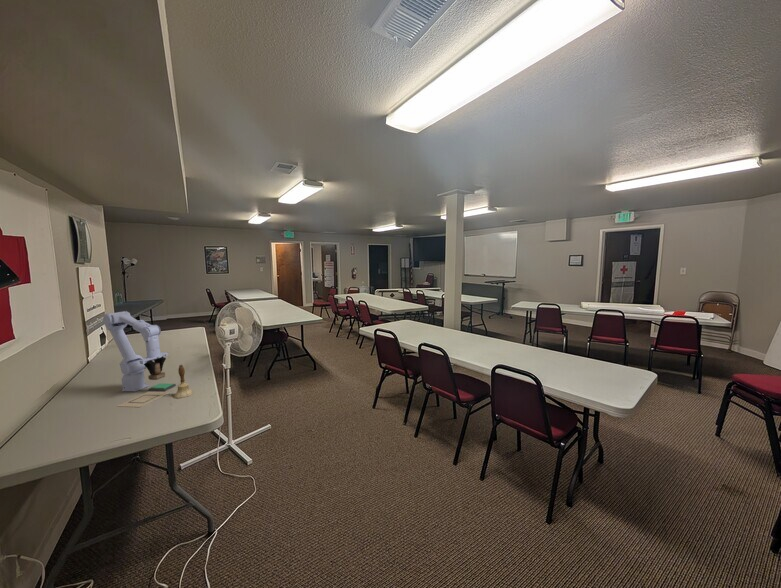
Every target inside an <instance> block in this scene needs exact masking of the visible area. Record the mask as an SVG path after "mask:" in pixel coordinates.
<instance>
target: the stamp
mask: <svg viewBox="0 0 781 588" xmlns="http://www.w3.org/2000/svg"><path fill="white" fill-rule="evenodd" d="M164 377H166V372H165V371H164V372H162V371H161V370H160V363H155V374H154V375H148V380H149V381H151V380H152V381H154V380H155V381H157V380H160V379H162V378H164Z"/></svg>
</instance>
